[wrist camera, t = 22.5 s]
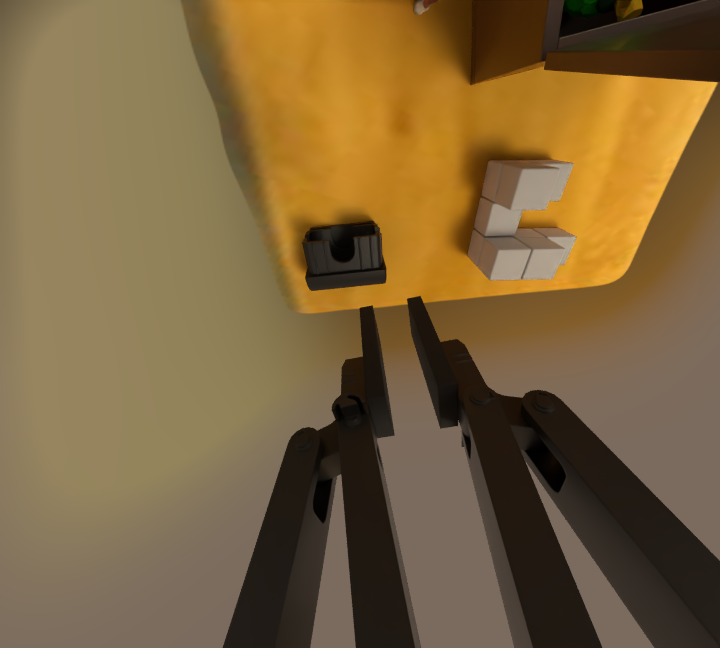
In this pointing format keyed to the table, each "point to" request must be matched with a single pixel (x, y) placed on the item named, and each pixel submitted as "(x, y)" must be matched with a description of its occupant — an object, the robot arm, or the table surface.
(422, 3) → the bull figurine
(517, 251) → the grey cube cluster
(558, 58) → the chest lid
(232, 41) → the table surface
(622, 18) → the ornament
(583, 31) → the chest
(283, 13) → the table surface
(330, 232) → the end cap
